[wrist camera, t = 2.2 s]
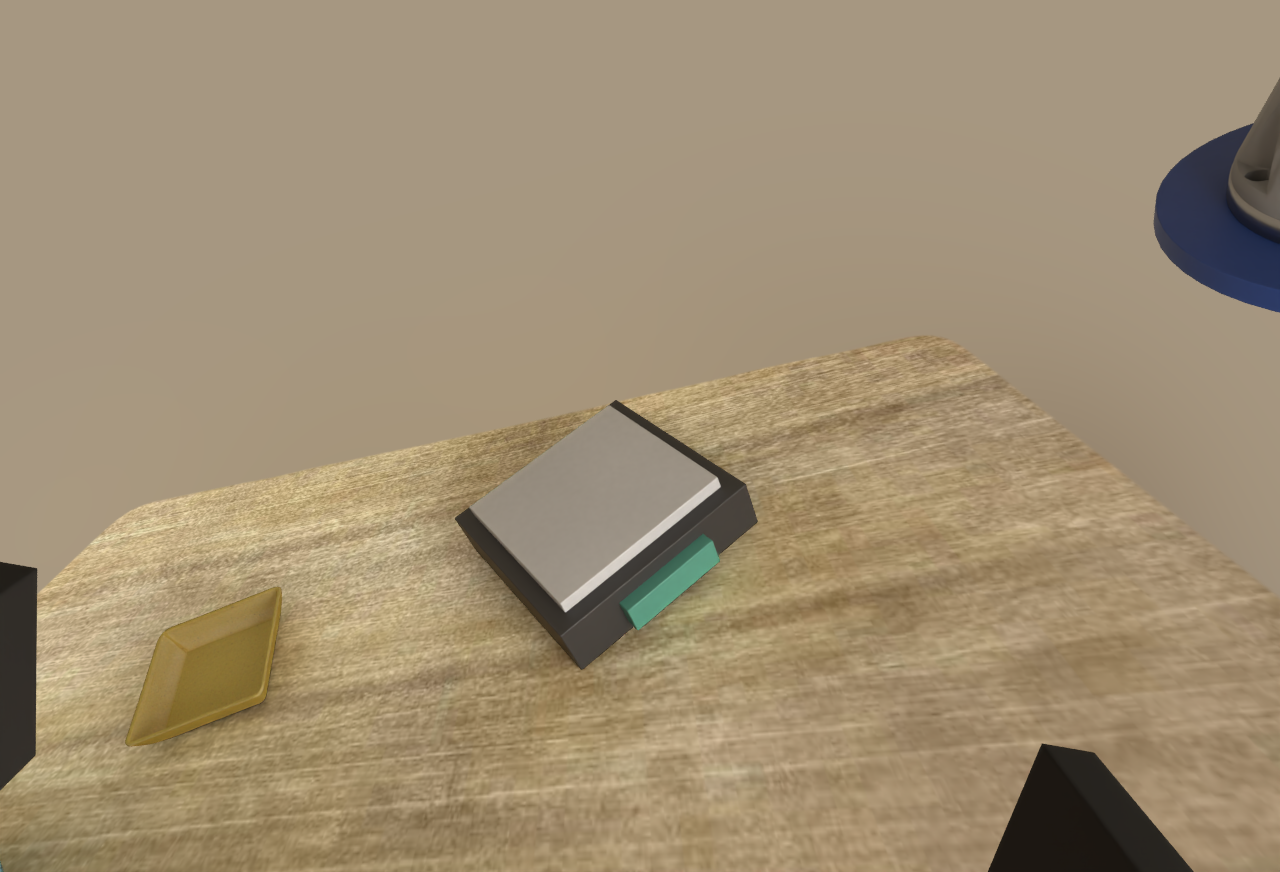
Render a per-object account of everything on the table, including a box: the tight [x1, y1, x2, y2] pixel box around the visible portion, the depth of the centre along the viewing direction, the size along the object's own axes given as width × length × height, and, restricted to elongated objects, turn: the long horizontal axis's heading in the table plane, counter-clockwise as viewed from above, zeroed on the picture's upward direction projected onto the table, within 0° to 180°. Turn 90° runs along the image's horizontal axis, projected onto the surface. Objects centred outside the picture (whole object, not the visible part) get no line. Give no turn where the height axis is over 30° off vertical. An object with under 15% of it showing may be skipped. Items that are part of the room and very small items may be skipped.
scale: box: [455, 400, 757, 669], centre depth 49 cm, size 14×13×4 cm
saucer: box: [125, 587, 282, 746], centre depth 51 cm, size 9×9×2 cm
